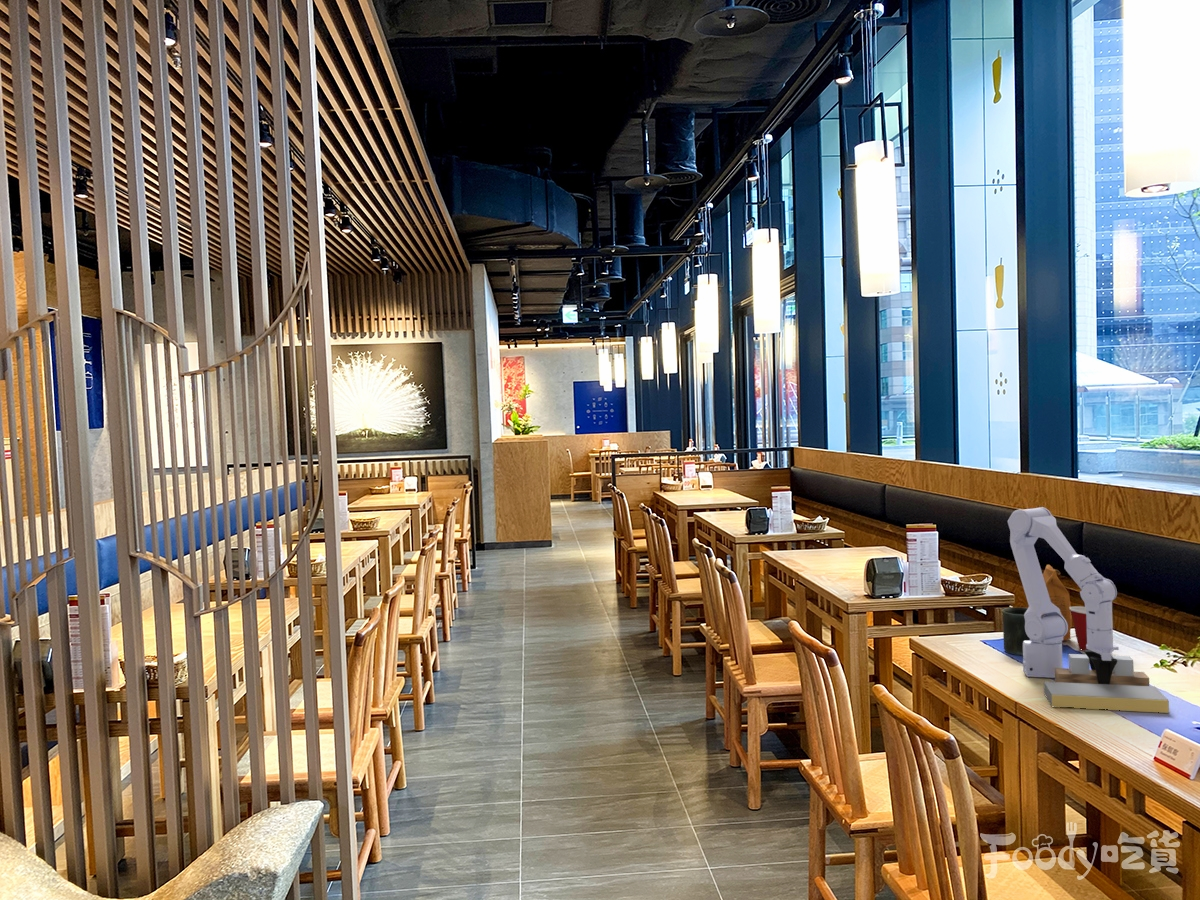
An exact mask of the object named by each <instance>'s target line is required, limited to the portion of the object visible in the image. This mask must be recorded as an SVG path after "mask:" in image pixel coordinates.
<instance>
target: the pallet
mask: <svg viewBox="0 0 1200 900" xmlns="http://www.w3.org/2000/svg"><path fill="white" fill-rule="evenodd" d="M1054 682H1064V683H1087V684H1098V680H1097V675H1096V670H1091V669H1090V674H1072V673H1071V672H1070V670H1069V668H1064V667H1063V668H1055V678H1054ZM1110 685H1133V686H1150V678H1149V676H1148V675H1147V674H1146V673H1145V672H1144V671H1134V676H1115V674H1114V673H1113V672H1112V675H1111V680H1110Z"/></svg>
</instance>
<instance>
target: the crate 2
mask: <svg viewBox="0 0 1200 900" xmlns="http://www.w3.org/2000/svg"><path fill="white" fill-rule="evenodd" d="M1111 659H1116V660H1117V664H1116V665H1115V667H1114V669H1113V671H1112V672H1113V673H1114V674H1115V676H1134V672H1135V671H1134V669H1135V668H1134V659H1133V657H1131V656H1130V655H1112V654H1111Z"/></svg>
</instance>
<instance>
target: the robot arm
mask: <svg viewBox="0 0 1200 900" xmlns="http://www.w3.org/2000/svg"><path fill="white" fill-rule="evenodd" d="M1007 525H1008V529H1009V531H1010V532H1009V533H1010V534H1009V535H1010V536H1009V543H1010V548H1011V550H1012V554H1013V557H1014V560H1015V563H1016V567H1017V570H1018V573H1019V577H1020V581H1021V583H1022V584H1021V585H1022V588H1023V591H1024V594H1025V597H1026V600H1027V605H1028V607H1027V608H1028V609H1027V611H1026V612H1025V614H1024V618H1025V632H1026V634H1027V636H1028V637H1029V638H1030V640H1027V641H1023V655H1022V670H1023V672H1024V673H1025V675H1026V677H1028V678H1045V679H1046V678H1049V679H1050V678H1051V679H1055V668H1064V667H1063V666H1064V664H1063V641H1064V640H1063V636H1065V635H1066V633H1067V631H1068V624H1067V622H1066V620H1065V618H1064V617H1063V616H1062V614H1061V612H1060V609H1059V608H1058V607H1057V606H1055V605H1054V604H1053V603H1051V600H1050V597H1049V594H1048V591H1047V587H1046V584H1045V581H1044V577H1043V572H1042V568H1041V565H1040V562H1039V559H1038V555H1037V552H1036V548H1035V544H1036V542H1037V540H1038V539H1039V538H1040V539H1044V541H1046V542H1047V544H1049V546H1050V547H1051V548H1052V549H1053V550H1054V551H1055V552H1056V553H1057V554H1058V556H1060V559H1061V558H1062V560H1063V562H1064V564H1063V565H1064V570H1065V572H1067V574H1068V575H1069V576H1070V578H1071V579H1072V580H1073V581H1074V582H1075V584H1077V586H1078V588H1080V591H1079V595H1080V598H1081V600H1082V601H1083V603H1084V607H1085V608H1086V621H1087V645H1086V648H1087V649H1088V650H1084V651H1083V652H1084V653H1085V654H1086V655H1087V656H1088V658H1089V668H1090V670H1096V675H1097V680H1098V684H1110V680H1111V675H1112V671H1113V669H1114V667H1115V665H1116V664H1117V660H1116V659H1112V658H1111V655H1112V654H1113V652H1114V651H1119V649H1120V648H1119V646H1118V645H1114V630H1113V629H1114V627H1113V601H1114V600H1115V599H1116V598H1117V595H1118V591H1117V587H1116V584H1114V582H1113V581H1112V580H1111V579H1109V578H1106V577H1104V576H1103V575H1102V574H1101V573H1099V572H1098V570H1097V569H1096V568H1095V567H1094V565H1093V564H1092V563H1091V562H1092V561H1091V560H1090V558H1089V557H1086V555H1084V554H1083V555H1082V554H1078V553H1077V552H1076V550H1075V549H1074V548H1073V546H1072V545H1071V544H1070V542H1069V541H1068V539H1067V538H1066V536H1065V535H1064V534H1063V532H1062V531H1061V529H1060V528H1059V527H1058V524H1057V519H1056V517H1054V516H1053V515H1052V513H1051V511H1050V510H1049V509H1047V508H1046V507H1043V506H1041V507H1040V506H1039V507H1036V508H1035V507H1033V508H1026V509H1021V508H1020V509H1016V510H1014V511H1013V512H1011V514H1010V516H1009V518H1008V520H1007ZM1041 615H1044V616H1041Z"/></svg>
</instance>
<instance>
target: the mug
mask: <svg viewBox="0 0 1200 900" xmlns="http://www.w3.org/2000/svg"><path fill="white" fill-rule="evenodd" d="M1027 609H1028V607H1022V606H1021V607H1019V606H1017V607H1016V606H1015V607H1005V608H1002V609H1001V610H1000V611H1001V612H1000V613H1002V625H1003V626H1002V631H1003V635H1002V637H1003V649H1004V651H1005V652H1006V653H1008V654H1010V655H1011V654H1012V655H1016V656H1017V655H1018V656H1023V641H1027V640H1030V638H1029V637H1028V636H1027V634H1026V632H1025V618H1024V614H1025V612H1026V611H1027Z"/></svg>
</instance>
